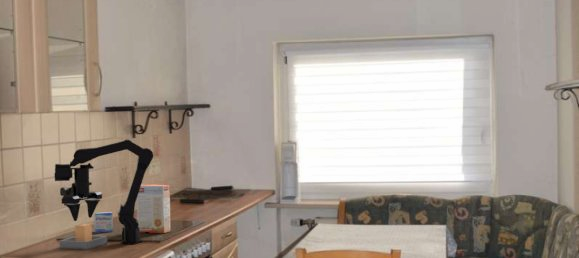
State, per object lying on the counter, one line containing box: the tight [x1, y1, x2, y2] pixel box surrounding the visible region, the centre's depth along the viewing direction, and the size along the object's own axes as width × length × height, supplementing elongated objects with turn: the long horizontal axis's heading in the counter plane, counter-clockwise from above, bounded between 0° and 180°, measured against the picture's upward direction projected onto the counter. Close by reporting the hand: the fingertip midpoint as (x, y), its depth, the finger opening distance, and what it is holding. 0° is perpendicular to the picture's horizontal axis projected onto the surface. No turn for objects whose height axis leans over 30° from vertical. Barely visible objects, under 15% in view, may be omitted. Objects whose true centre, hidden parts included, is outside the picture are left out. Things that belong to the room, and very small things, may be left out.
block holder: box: [59, 235, 108, 251], centre depth 284 cm, size 13×13×3 cm
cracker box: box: [136, 184, 172, 234], centre depth 314 cm, size 14×6×21 cm, turn 67°
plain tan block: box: [74, 223, 93, 242], centre depth 284 cm, size 4×4×8 cm
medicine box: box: [93, 211, 114, 234], centre depth 318 cm, size 8×4×9 cm, turn 106°
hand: (82, 219), depth 284 cm, fingers open, 9 cm apart
